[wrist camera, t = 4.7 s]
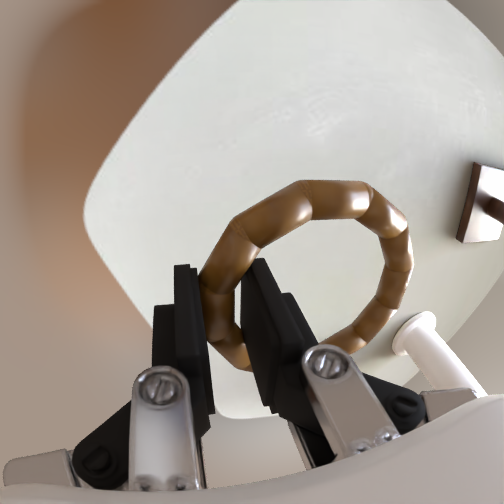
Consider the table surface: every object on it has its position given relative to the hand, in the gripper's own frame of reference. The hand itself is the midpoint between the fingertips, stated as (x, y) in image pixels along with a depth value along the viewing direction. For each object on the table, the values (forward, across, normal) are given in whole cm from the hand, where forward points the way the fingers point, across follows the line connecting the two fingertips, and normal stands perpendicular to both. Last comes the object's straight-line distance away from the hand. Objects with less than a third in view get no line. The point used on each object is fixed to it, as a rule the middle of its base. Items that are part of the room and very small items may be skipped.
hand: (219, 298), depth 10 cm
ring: (0, -3, 0) cm, 3 cm away
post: (+11, -32, +1) cm, 34 cm away
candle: (+11, -26, +19) cm, 34 cm away
